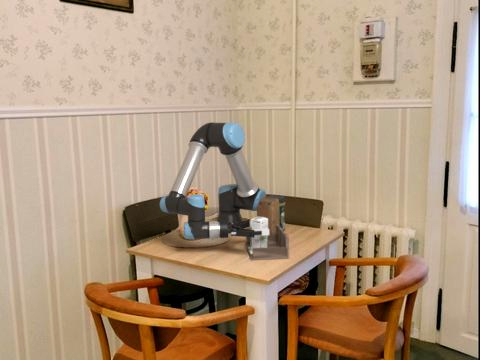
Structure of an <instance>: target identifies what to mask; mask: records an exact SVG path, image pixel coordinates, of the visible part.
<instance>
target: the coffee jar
mask: <svg viewBox="0 0 480 360" xmlns="http://www.w3.org/2000/svg"><path fill="white" fill-rule="evenodd" d="M267 197H272V198H277V199H278V200H279V209H280V227H281V228H282V229H283V231H285V229H286V215H285V207H286V202H287V201H286V197H285V196H284V195H276V194H270V195H268V196H267Z"/></svg>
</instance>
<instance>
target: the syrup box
mask: <svg viewBox="0 0 480 360" xmlns="http://www.w3.org/2000/svg"><path fill="white" fill-rule="evenodd" d="M250 222H251V228H250V227H249V228H250V230H254V229H268V218H265V217H257V216H256V217H253V218H250ZM253 248H268V235H262V236H254V238H252V237H250V250H253Z"/></svg>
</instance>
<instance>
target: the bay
mask: <svg viewBox="0 0 480 360" xmlns="http://www.w3.org/2000/svg"><path fill="white" fill-rule="evenodd" d="M245 238H246V240H245V243H244V247H245V249H246V251H247V253H248V255H249V258H250V260H251V261H269V260H270V261H272V260H289V259H290V254H289V253H290V236H288V234H287V233H286V232H285V230H283V229H282V228H281V227H280V226H279V224H278V225H276V234H269V235H268V248H253V250H250V237H245Z"/></svg>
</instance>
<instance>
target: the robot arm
mask: <svg viewBox="0 0 480 360" xmlns="http://www.w3.org/2000/svg"><path fill="white" fill-rule="evenodd" d="M245 135H246V134H245V130H244V128H243V127H242V126H241V124H239V123H236V122H232V121H230V122H207V123H205V124H202V125H201V126H199V128H198V129H196V131H195V132H194V133H193V135H192V136H191V138H190V140H189V142H188V147H189V148H188V150H187V152H186V153H185V154H186V155H185V157H184V159H183V161H182V162H181V163H182V164H181V166H180V168H179V171H178V173H177V175H176V178H175V179H174V182H173V184H172V187H171V189H170V191H169V193H168V195H163V196H162V197H161V199H160V201H159V208H160V210H161V211H162V212H164V213H167V214H174V215H180V216H187V221H185V222H184V223H183V237H184V238H185V240H202V239H203V240H204V239H211V240H214V239H218V238H220V239H228V238H229V234H230V236H231V237H242V238H243V237H245V238H246V237H252V238H254V236H262V235H269V229H254V230H250V229H249V228H251V221H250V219H246V220H243V217H242V214H241V210H245V211H252V212H257V206H258V202H259V200H260V199H262V198H264V197H267V193H266V190H265V189H262V188H261V189H260V187H259V184H258V183H257V182H256V181H254V179H253V176H252V173H251V171H250V168H249V166H248V162H247V160H246V158H245V155H244V152H243V147H244V144H245V140H246V138H245ZM210 148H218V150H219V152H220V154H221V155H222V156H225V160H226V161H227V163H228V166H229V168H230V171H231V173H232V174H231V175H232V176H233V179H234V182H235V183H230V184H224V185H221V186H219V187H218V194H217V195H218V214H217V216H216V220H212V221H210V220H209V221H206V203H205V196H204V195H203V194H198V193H197V194H196V193H193V194H189V195H188V193H189V190H190V187H191V185H192V183H193V181H194V179H195V177H196V174H197V171H198V169H199V166H200V164H201V162H202V160H203V157H204V154H207V152H208V151H209V149H210Z"/></svg>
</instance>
